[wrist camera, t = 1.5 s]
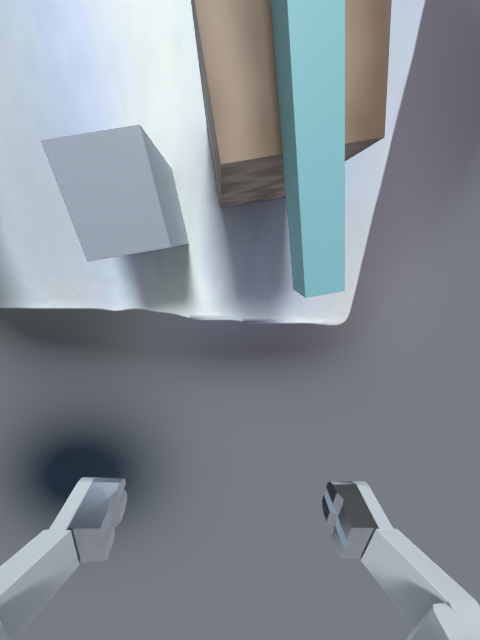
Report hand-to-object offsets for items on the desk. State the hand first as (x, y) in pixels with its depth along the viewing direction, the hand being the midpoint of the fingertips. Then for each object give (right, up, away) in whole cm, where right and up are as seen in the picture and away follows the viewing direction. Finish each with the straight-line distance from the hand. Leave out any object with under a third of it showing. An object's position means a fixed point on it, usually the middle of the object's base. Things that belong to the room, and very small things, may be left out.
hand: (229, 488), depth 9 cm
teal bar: (+5, +22, +6) cm, 23 cm away
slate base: (-15, +26, +31) cm, 43 cm away
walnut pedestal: (+2, +33, +29) cm, 45 cm away
